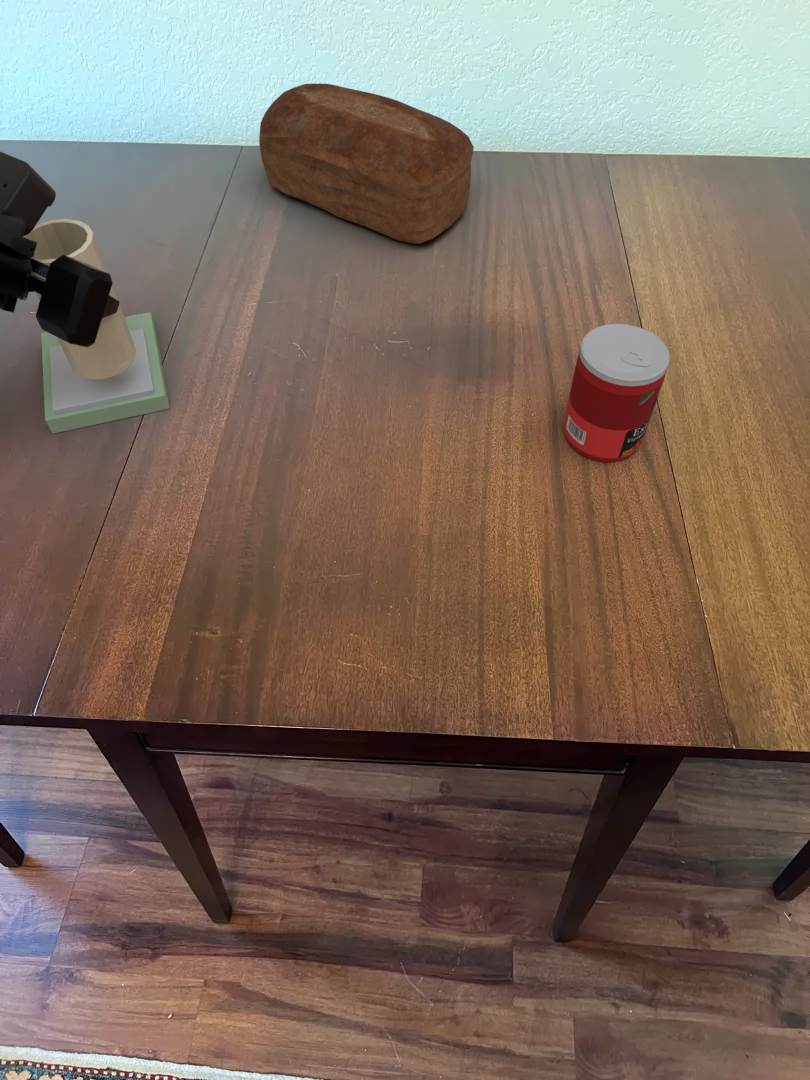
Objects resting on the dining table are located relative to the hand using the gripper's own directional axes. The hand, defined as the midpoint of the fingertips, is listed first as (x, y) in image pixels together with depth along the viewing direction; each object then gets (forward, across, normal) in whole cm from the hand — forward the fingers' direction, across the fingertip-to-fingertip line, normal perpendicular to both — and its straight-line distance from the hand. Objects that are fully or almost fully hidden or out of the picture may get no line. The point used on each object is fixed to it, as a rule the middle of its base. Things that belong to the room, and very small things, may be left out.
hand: (91, 294), depth 73 cm
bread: (+40, 0, -22) cm, 45 cm away
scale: (+9, +4, +9) cm, 13 cm away
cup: (+4, 0, +6) cm, 7 cm away
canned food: (+24, -45, -6) cm, 51 cm away
